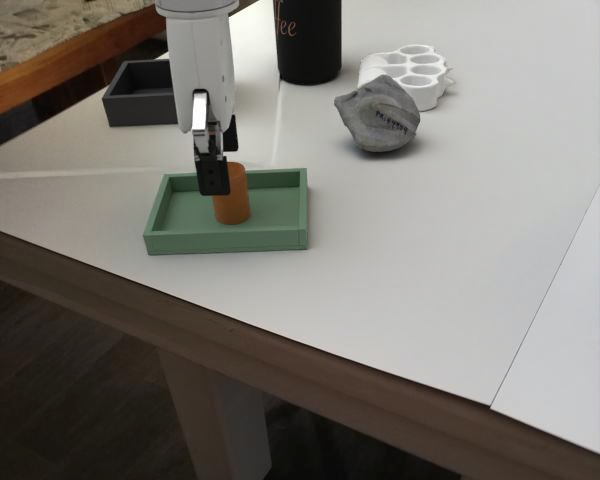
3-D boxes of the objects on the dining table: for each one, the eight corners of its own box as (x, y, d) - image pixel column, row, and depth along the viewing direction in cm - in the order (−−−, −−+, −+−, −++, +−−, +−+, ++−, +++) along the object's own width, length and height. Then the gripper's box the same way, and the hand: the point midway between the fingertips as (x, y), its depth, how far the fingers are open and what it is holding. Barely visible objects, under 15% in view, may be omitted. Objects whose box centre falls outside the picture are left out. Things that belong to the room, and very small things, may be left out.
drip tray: (148, 255, 65) (142, 235, 63) (168, 192, 74) (163, 173, 72) (306, 249, 64) (305, 229, 62) (307, 186, 73) (306, 167, 71)
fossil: (337, 163, 77) (337, 99, 71) (332, 133, 83) (331, 71, 77) (422, 156, 77) (429, 92, 71) (410, 127, 83) (415, 65, 77)
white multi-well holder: (361, 67, 99) (449, 66, 97) (355, 112, 87) (456, 111, 85) (361, 45, 97) (452, 43, 95) (356, 88, 85) (459, 86, 83)
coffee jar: (275, 65, 102) (265, -65, 88) (336, 59, 102) (336, -72, 89) (281, 89, 95) (271, -49, 81) (346, 82, 95) (347, -56, 82)
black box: (111, 133, 87) (101, 98, 83) (131, 93, 97) (123, 60, 93) (210, 128, 86) (204, 93, 82) (220, 89, 96) (216, 55, 92)
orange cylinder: (213, 225, 67) (205, 180, 63) (217, 206, 70) (209, 162, 66) (249, 224, 67) (243, 178, 63) (252, 205, 70) (246, 160, 66)
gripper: (169, -36, 58) (197, 137, 71) (133, 20, 46) (174, 214, 59) (244, -39, 58) (259, 135, 71) (228, 17, 46) (248, 212, 59)
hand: (220, 171), depth 65 cm, fingers open, 9 cm apart
